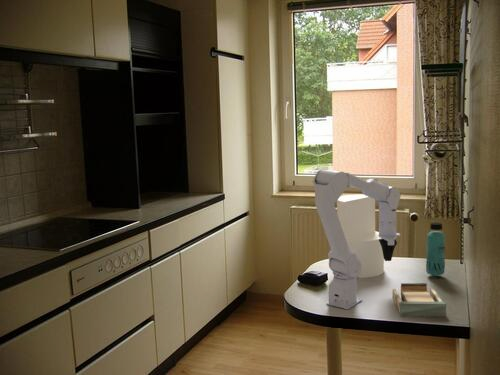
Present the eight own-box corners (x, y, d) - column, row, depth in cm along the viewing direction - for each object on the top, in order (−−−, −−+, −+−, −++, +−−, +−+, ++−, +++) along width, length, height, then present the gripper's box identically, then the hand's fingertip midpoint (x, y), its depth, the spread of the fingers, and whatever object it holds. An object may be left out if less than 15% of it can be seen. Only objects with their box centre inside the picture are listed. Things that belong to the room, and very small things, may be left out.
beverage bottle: (422, 277, 194) (423, 223, 191) (431, 272, 199) (432, 220, 196) (439, 280, 190) (440, 225, 187) (448, 276, 194) (449, 222, 191)
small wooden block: (400, 298, 175) (400, 282, 174) (425, 298, 174) (426, 282, 173) (408, 312, 163) (408, 296, 162) (435, 312, 162) (435, 295, 161)
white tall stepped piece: (328, 270, 207) (327, 199, 202) (358, 260, 217) (357, 193, 213) (363, 280, 193) (362, 204, 189) (393, 270, 204) (393, 198, 199)
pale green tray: (445, 316, 159) (446, 303, 158) (401, 316, 160) (401, 303, 160) (433, 297, 174) (433, 285, 174) (392, 297, 176) (392, 286, 175)
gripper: (403, 226, 172) (403, 266, 174) (396, 216, 186) (395, 254, 188) (381, 226, 173) (381, 267, 175) (375, 216, 187) (375, 254, 189)
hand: (387, 260), depth 181 cm, fingers closed
